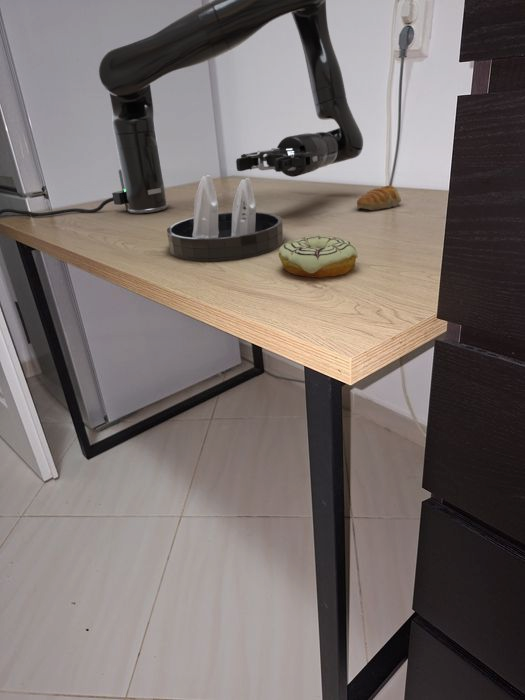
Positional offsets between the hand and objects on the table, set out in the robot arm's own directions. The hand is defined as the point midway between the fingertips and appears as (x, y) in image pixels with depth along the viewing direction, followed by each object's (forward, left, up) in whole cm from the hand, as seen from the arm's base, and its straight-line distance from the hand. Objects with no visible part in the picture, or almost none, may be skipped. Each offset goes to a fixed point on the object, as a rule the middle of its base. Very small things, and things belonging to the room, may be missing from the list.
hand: (256, 165), depth 89 cm
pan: (+1, -12, -11) cm, 16 cm away
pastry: (+14, +23, -12) cm, 29 cm away
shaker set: (+1, -12, -11) cm, 16 cm away
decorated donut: (+22, -18, -12) cm, 31 cm away
